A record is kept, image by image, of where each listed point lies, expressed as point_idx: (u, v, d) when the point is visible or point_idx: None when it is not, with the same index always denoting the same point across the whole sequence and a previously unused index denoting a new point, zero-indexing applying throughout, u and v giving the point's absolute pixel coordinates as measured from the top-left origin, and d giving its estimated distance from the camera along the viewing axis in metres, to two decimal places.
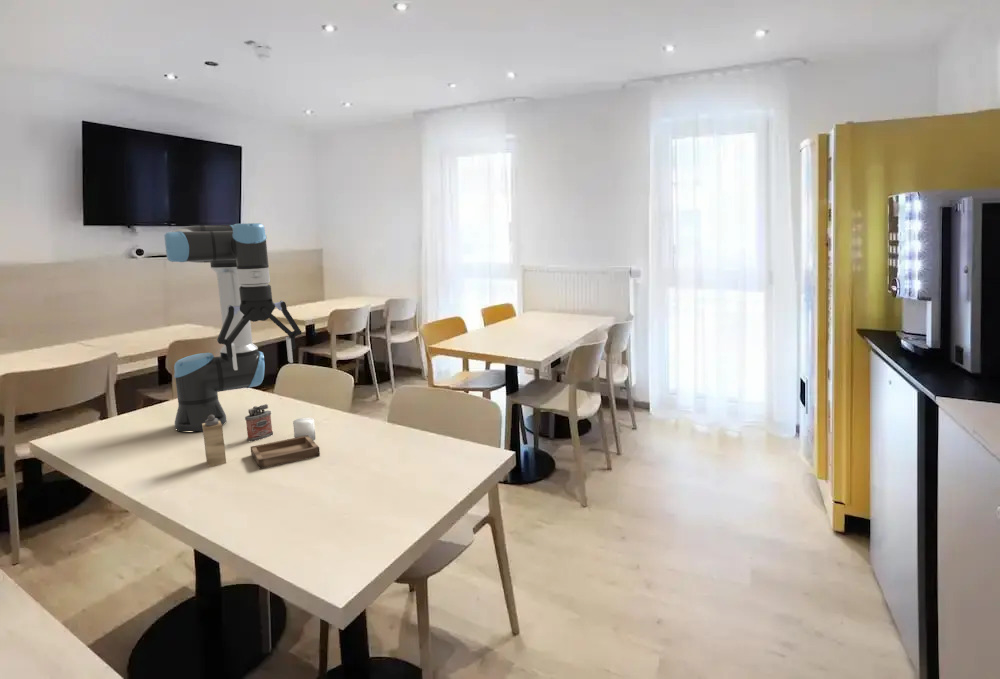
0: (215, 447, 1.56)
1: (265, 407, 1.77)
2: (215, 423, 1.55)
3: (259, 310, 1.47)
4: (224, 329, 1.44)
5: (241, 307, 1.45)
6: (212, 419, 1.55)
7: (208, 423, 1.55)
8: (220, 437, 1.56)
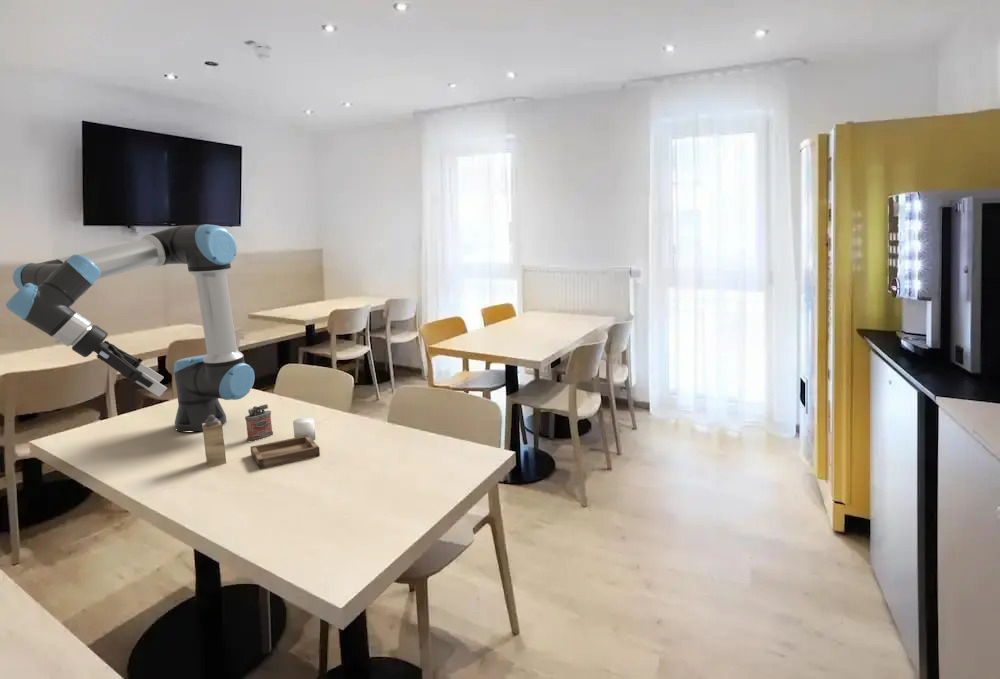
0: (215, 447, 1.56)
1: (265, 407, 1.77)
2: (215, 423, 1.55)
3: None
4: None
5: None
6: (212, 419, 1.55)
7: (208, 423, 1.55)
8: (220, 437, 1.56)
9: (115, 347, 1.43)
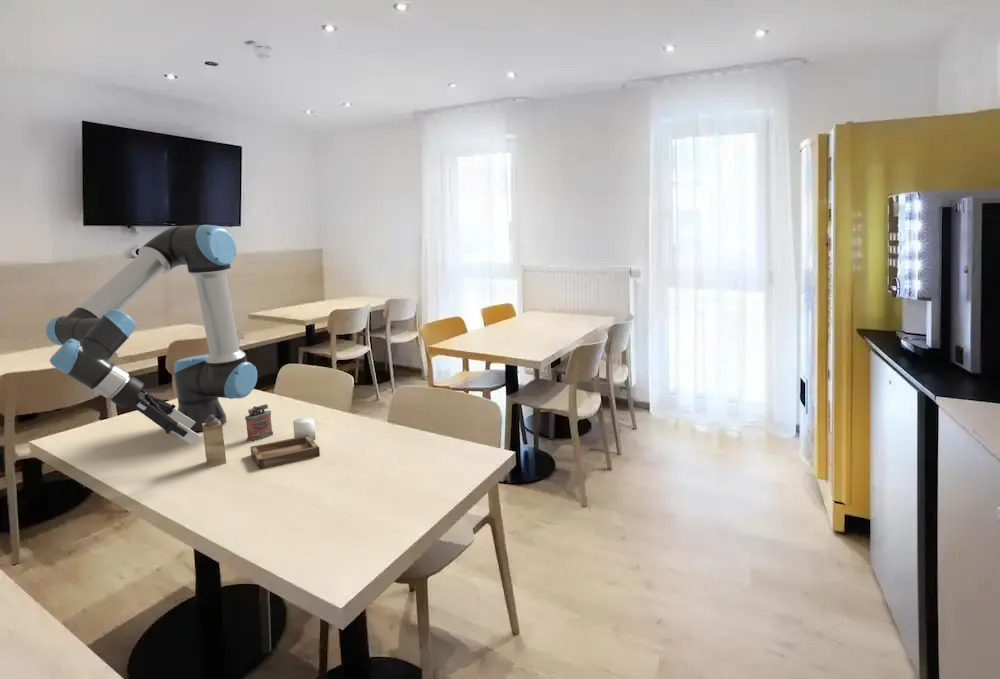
0: (215, 447, 1.56)
1: (265, 407, 1.77)
2: (215, 423, 1.55)
3: None
4: None
5: None
6: (212, 419, 1.55)
7: (208, 423, 1.55)
8: (220, 437, 1.56)
9: (151, 396, 1.48)
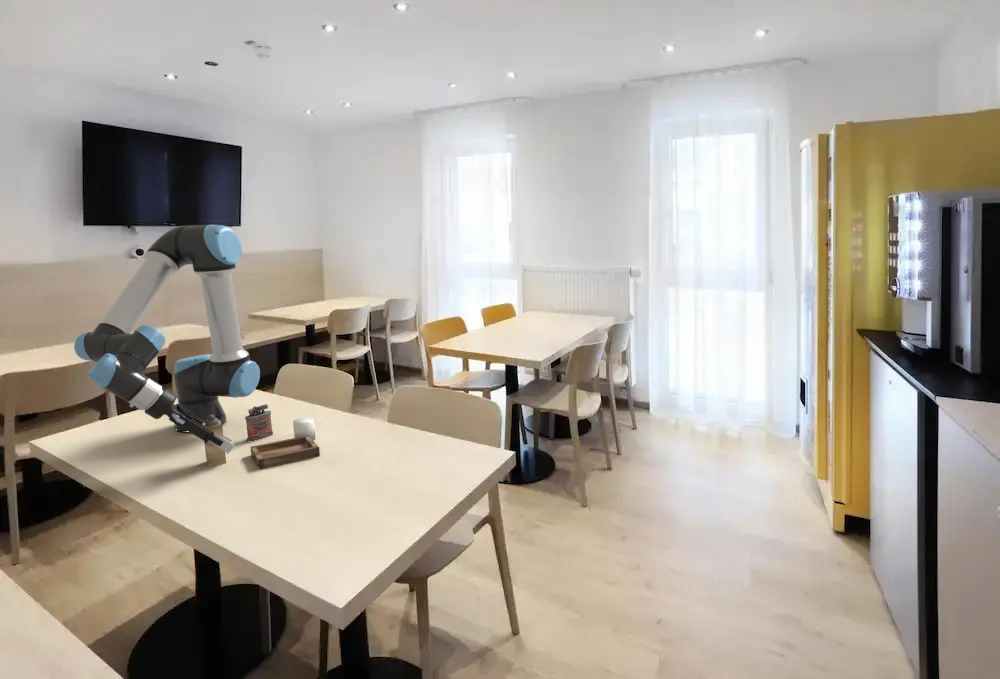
0: (215, 447, 1.56)
1: (265, 407, 1.77)
2: (215, 423, 1.55)
3: None
4: None
5: None
6: (212, 419, 1.55)
7: (208, 423, 1.55)
8: None
9: (182, 408, 1.53)
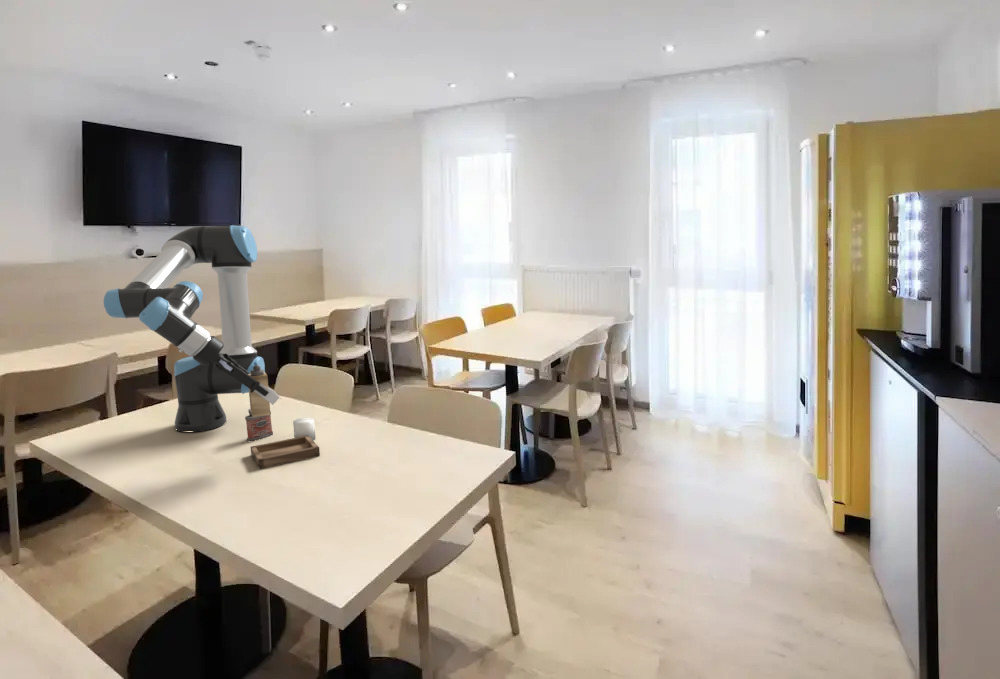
0: (260, 397, 1.54)
1: None
2: (260, 373, 1.54)
3: None
4: None
5: None
6: (258, 369, 1.54)
7: (254, 373, 1.53)
8: None
9: (229, 356, 1.52)
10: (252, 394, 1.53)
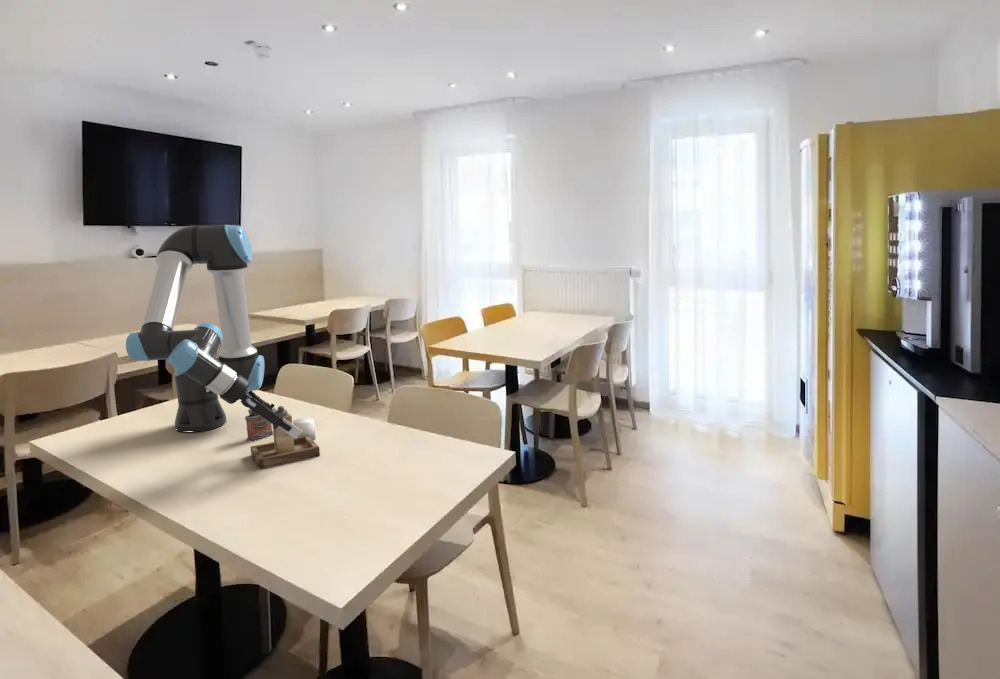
0: (284, 438, 1.59)
1: None
2: (285, 414, 1.59)
3: None
4: None
5: None
6: (282, 410, 1.59)
7: (278, 414, 1.58)
8: None
9: (254, 393, 1.56)
10: (277, 435, 1.58)
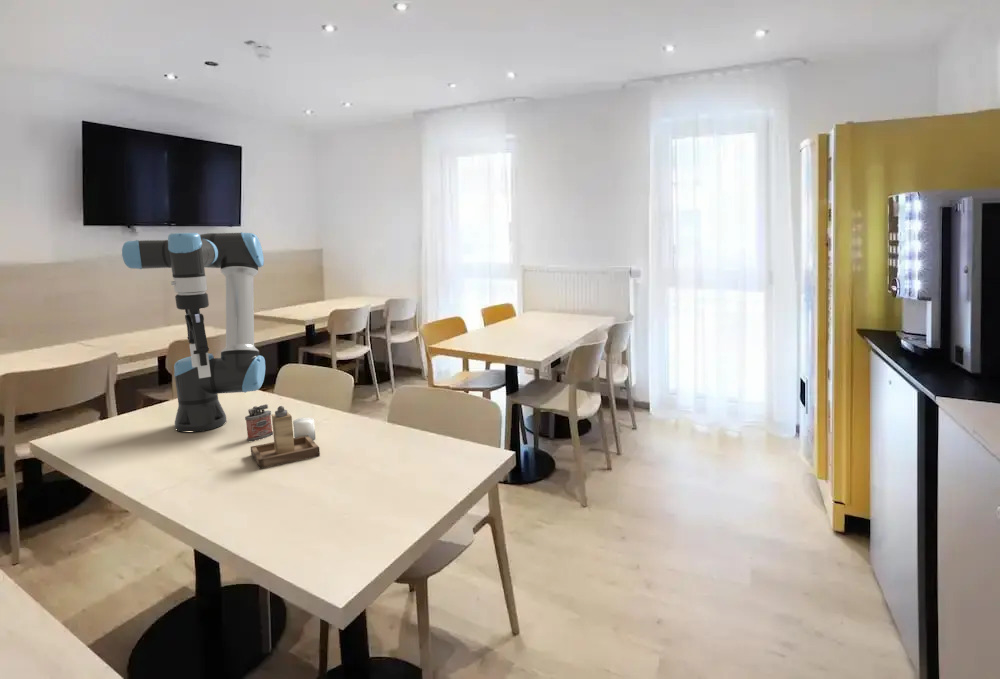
0: (284, 438, 1.59)
1: (265, 407, 1.77)
2: (285, 414, 1.59)
3: None
4: (187, 328, 1.58)
5: None
6: (282, 410, 1.59)
7: (278, 414, 1.58)
8: (290, 428, 1.60)
9: None
10: (277, 435, 1.58)
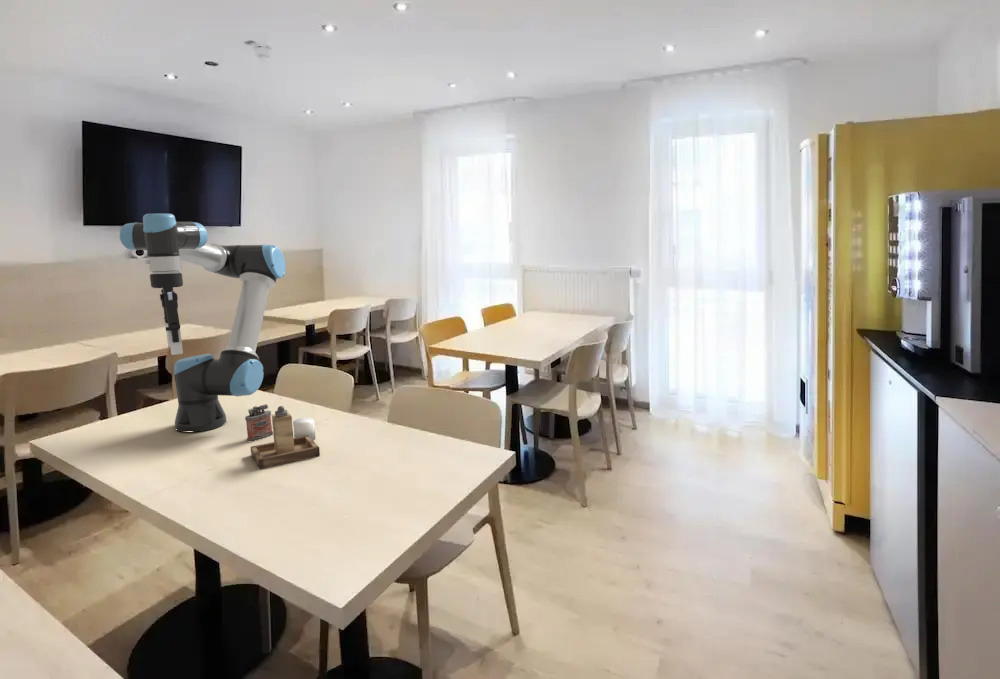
0: (284, 438, 1.59)
1: (265, 407, 1.77)
2: (285, 414, 1.59)
3: None
4: None
5: None
6: (282, 410, 1.59)
7: (278, 414, 1.58)
8: (290, 428, 1.60)
9: None
10: (277, 435, 1.58)
